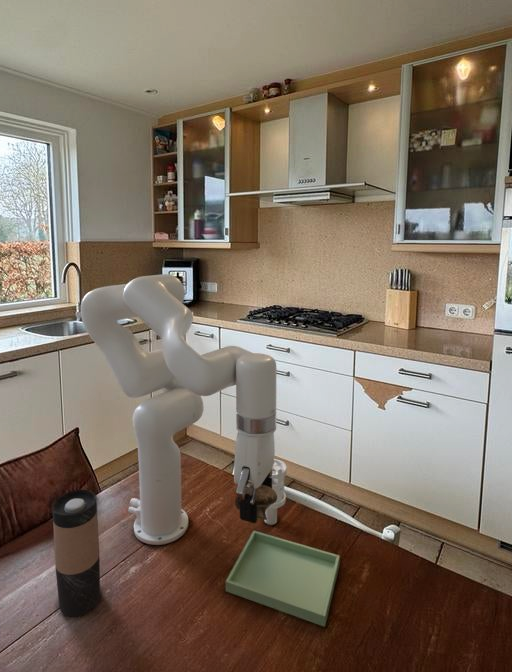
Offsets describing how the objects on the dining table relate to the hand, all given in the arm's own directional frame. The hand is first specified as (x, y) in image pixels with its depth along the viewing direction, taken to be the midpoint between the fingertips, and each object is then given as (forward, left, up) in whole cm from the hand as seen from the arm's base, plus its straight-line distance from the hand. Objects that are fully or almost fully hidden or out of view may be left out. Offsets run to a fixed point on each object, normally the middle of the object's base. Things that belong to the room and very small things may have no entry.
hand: (256, 506), depth 81 cm
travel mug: (-29, -17, -16) cm, 37 cm away
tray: (+5, +3, -16) cm, 17 cm away
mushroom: (0, 0, -2) cm, 2 cm away
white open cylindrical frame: (-3, +18, -16) cm, 25 cm away
